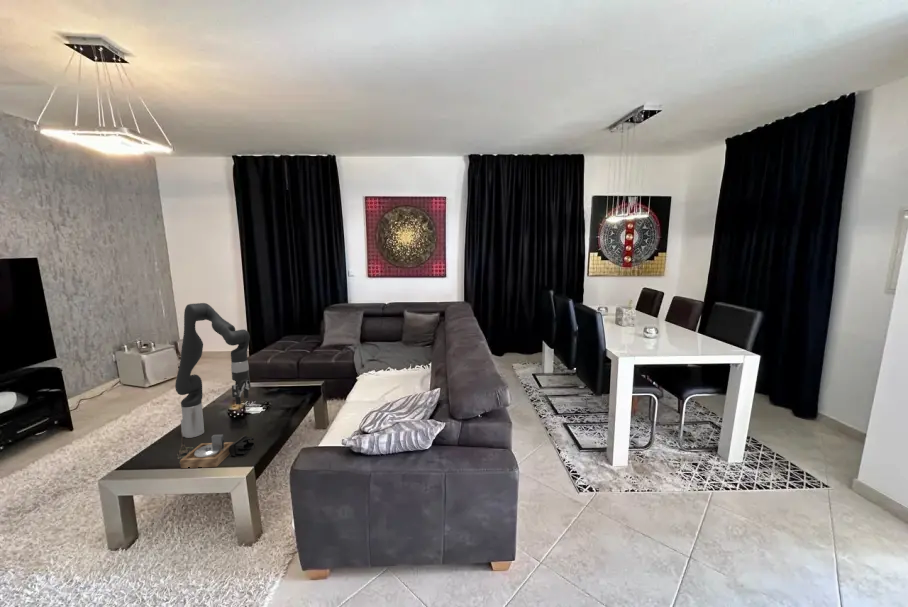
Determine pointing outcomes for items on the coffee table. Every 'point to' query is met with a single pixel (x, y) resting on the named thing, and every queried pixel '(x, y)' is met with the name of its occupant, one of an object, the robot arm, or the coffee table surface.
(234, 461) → the coffee table surface
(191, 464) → the wooden square tray
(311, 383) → the coffee table surface
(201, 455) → the dial
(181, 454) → the eiffel tower figurine
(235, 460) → the coffee table surface
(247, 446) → the end cap
